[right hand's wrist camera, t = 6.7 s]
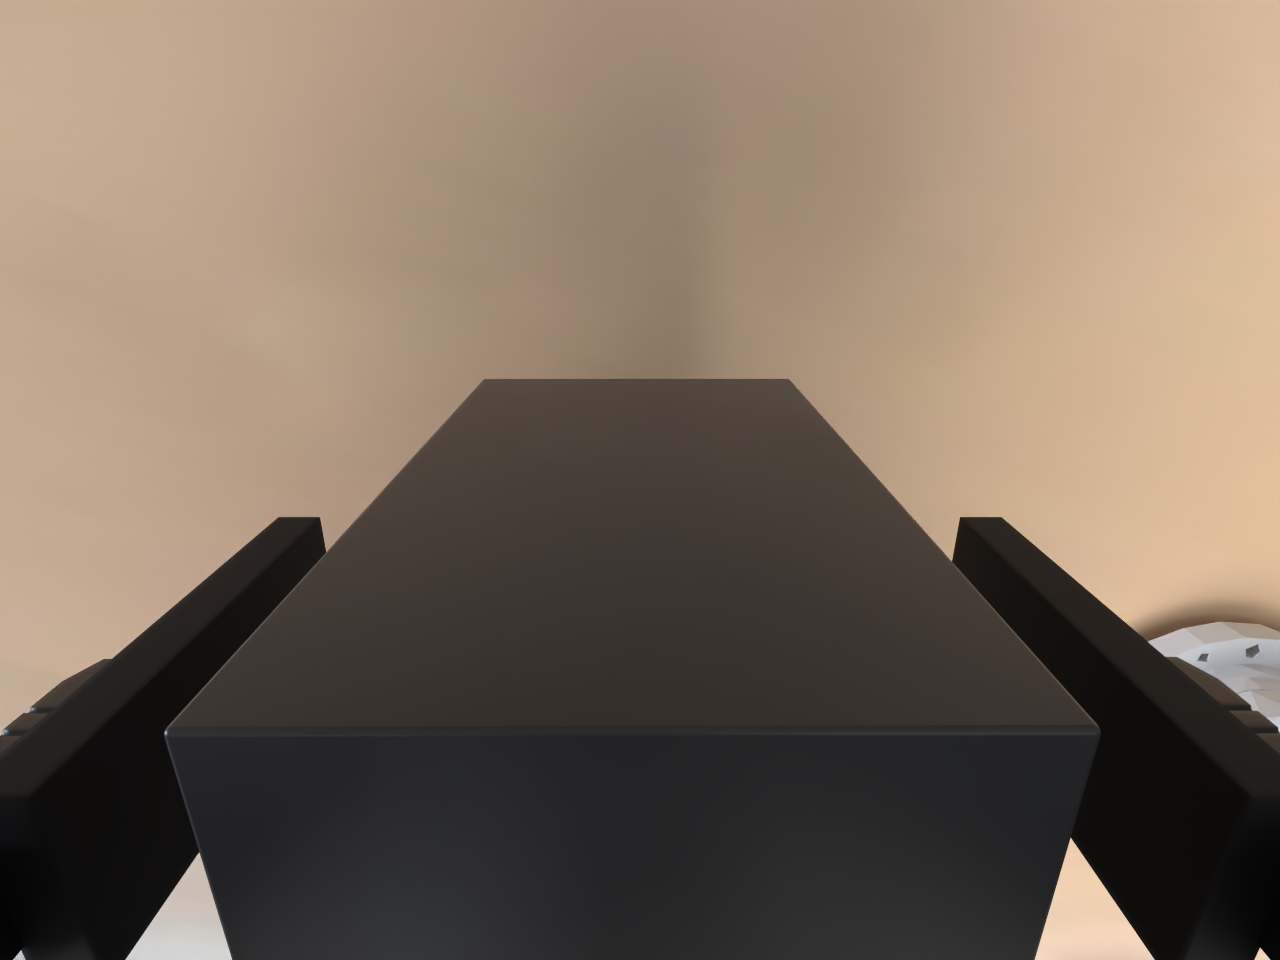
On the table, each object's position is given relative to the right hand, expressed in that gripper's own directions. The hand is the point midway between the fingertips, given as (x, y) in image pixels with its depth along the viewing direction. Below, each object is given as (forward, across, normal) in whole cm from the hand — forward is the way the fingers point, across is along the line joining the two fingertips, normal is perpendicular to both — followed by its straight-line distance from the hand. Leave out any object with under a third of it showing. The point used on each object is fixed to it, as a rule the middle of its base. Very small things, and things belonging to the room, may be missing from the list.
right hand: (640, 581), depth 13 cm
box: (+2, 0, -8) cm, 8 cm away
